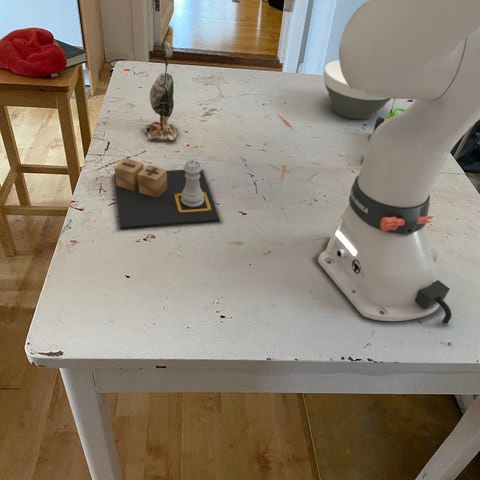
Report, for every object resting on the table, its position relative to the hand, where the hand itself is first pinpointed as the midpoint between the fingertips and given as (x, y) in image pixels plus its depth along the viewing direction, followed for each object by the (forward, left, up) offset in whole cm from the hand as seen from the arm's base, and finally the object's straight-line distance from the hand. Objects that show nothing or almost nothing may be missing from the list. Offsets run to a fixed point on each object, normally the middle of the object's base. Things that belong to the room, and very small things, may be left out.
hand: (262, 7), depth 83 cm
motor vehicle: (0, -35, -29) cm, 46 cm away
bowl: (+23, -35, -29) cm, 51 cm away
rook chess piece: (-15, +15, -29) cm, 36 cm away
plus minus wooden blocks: (-9, +24, -29) cm, 38 cm away
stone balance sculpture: (+15, +17, -29) cm, 37 cm away
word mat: (-12, +20, -29) cm, 37 cm away
